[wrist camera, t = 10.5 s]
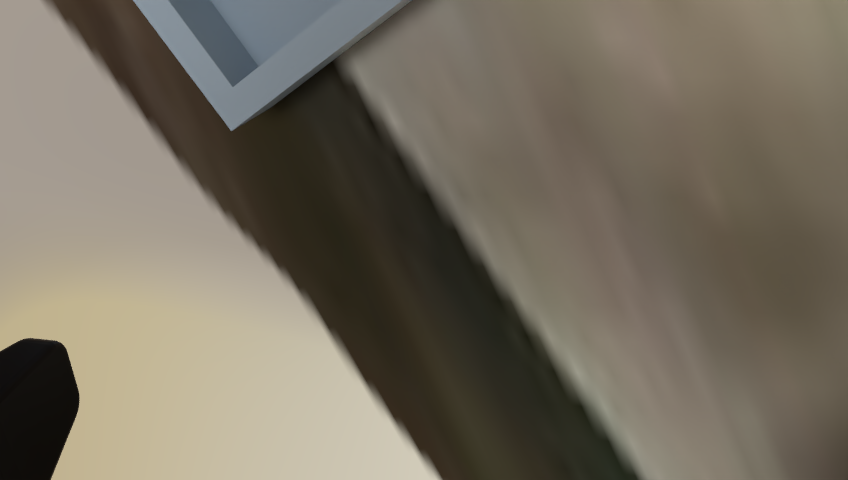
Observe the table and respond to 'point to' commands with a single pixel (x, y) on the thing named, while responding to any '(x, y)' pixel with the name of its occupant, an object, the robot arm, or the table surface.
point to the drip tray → (260, 44)
